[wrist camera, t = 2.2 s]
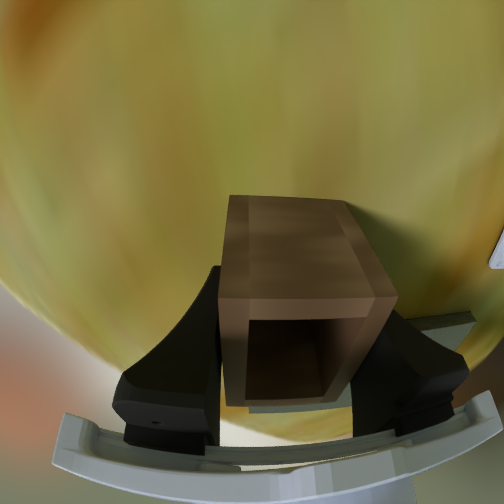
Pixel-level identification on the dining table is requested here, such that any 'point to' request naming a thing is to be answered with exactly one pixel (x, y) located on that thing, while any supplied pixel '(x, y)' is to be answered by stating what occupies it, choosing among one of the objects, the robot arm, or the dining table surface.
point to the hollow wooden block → (296, 300)
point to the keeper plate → (437, 328)
